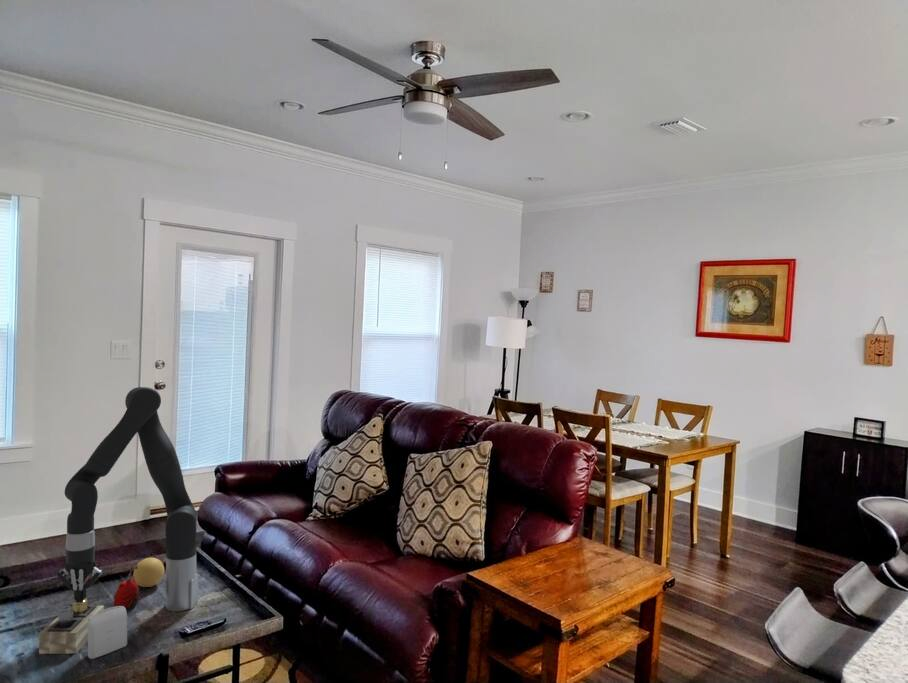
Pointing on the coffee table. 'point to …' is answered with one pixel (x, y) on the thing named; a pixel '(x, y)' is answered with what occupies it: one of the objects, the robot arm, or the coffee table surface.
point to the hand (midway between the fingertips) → (80, 600)
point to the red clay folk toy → (127, 593)
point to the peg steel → (65, 616)
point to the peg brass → (80, 607)
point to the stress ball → (148, 572)
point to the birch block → (67, 634)
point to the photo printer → (107, 631)
